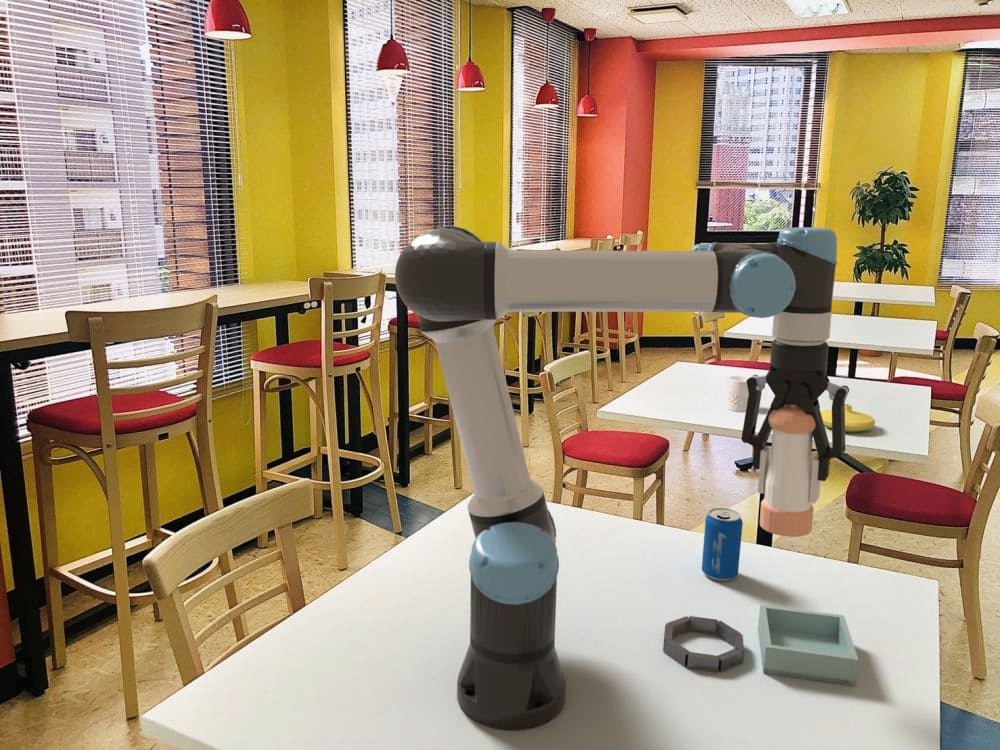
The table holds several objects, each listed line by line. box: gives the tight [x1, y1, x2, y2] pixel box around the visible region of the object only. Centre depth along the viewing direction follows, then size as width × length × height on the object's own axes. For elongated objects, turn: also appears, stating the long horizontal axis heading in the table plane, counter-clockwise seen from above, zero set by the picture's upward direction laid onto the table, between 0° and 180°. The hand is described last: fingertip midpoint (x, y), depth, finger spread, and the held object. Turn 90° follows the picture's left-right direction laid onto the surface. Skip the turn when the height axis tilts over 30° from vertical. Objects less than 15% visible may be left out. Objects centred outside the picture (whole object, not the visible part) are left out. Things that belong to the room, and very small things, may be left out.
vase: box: [820, 403, 876, 433], centre depth 241 cm, size 16×16×7 cm
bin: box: [757, 604, 859, 687], centre depth 124 cm, size 13×13×4 cm
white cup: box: [726, 375, 751, 413], centre depth 259 cm, size 8×8×10 cm
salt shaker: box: [759, 405, 816, 538], centre depth 118 cm, size 7×7×19 cm
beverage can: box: [701, 507, 744, 582], centre depth 149 cm, size 6×6×12 cm
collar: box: [662, 615, 745, 673], centre depth 126 cm, size 12×12×2 cm
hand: (788, 494), depth 119 cm, fingers closed on salt shaker, 7 cm apart
